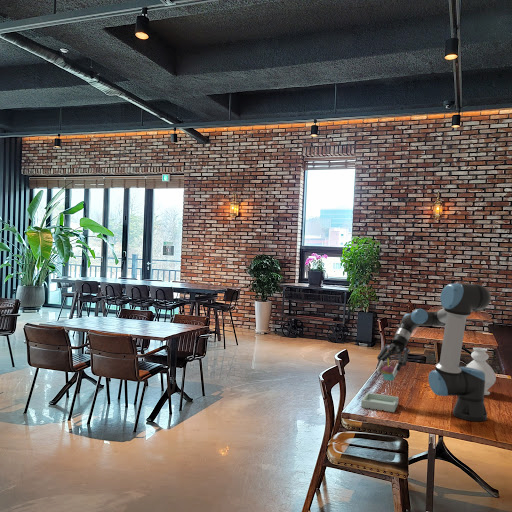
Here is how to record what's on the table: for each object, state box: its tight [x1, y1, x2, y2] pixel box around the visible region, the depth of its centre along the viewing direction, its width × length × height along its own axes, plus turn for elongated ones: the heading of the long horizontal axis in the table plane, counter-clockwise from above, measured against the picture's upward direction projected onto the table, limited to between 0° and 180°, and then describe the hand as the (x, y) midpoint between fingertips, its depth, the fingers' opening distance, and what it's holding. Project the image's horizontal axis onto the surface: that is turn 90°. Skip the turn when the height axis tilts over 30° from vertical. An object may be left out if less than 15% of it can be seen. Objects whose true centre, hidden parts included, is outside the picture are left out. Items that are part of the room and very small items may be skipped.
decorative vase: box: [465, 347, 497, 396], centre depth 294 cm, size 18×18×25 cm
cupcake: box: [380, 357, 399, 382], centre depth 266 cm, size 9×8×12 cm
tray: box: [360, 392, 399, 413], centre depth 258 cm, size 16×16×4 cm
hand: (385, 373), depth 263 cm, fingers closed on cupcake, 8 cm apart
